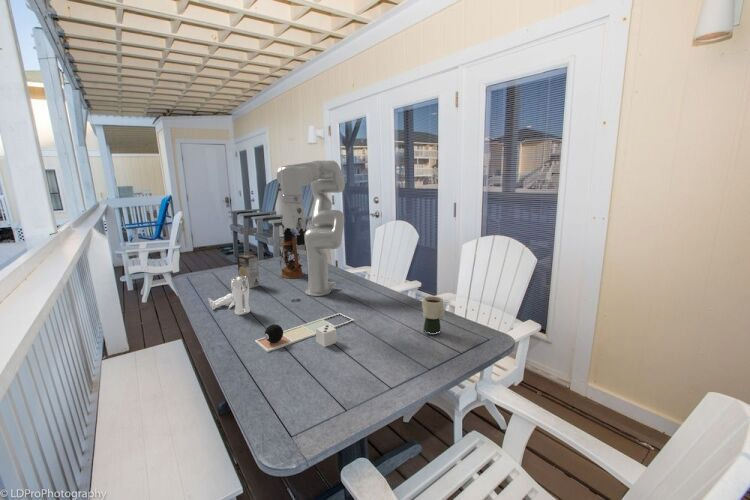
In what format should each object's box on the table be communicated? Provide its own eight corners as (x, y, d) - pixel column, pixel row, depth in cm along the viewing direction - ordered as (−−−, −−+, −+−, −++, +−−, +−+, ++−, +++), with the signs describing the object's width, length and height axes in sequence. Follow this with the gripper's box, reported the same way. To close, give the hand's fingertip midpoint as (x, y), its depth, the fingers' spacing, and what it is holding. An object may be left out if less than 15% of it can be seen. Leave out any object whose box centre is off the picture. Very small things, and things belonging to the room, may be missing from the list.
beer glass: (245, 316, 142) (242, 281, 138) (230, 314, 143) (226, 280, 140) (254, 309, 148) (251, 276, 145) (239, 308, 150) (236, 275, 147)
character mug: (449, 335, 125) (451, 301, 122) (436, 341, 121) (437, 306, 118) (428, 325, 134) (429, 293, 131) (414, 330, 129) (415, 297, 127)
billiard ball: (261, 342, 119) (260, 326, 118) (276, 335, 124) (275, 320, 122) (272, 347, 116) (271, 330, 114) (287, 340, 120) (286, 324, 119)
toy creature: (206, 295, 154) (233, 284, 159) (210, 306, 156) (237, 296, 162) (210, 303, 144) (239, 292, 150) (215, 315, 146) (243, 304, 152)
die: (328, 337, 123) (327, 324, 122) (336, 342, 120) (336, 328, 119) (316, 342, 120) (315, 328, 119) (324, 347, 116) (324, 333, 115)
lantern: (309, 276, 197) (306, 224, 190) (287, 280, 189) (284, 226, 182) (296, 270, 210) (293, 221, 203) (275, 273, 202) (272, 222, 196)
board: (339, 314, 144) (339, 312, 144) (354, 321, 137) (354, 319, 137) (254, 342, 120) (254, 340, 120) (267, 352, 113) (267, 350, 113)
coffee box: (238, 285, 180) (236, 255, 177) (248, 282, 186) (246, 253, 182) (250, 288, 176) (247, 258, 172) (260, 285, 181) (258, 255, 178)
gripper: (312, 200, 129) (314, 245, 133) (289, 198, 142) (291, 238, 146) (294, 201, 124) (297, 247, 128) (272, 198, 137) (275, 241, 141)
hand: (294, 243), depth 137 cm, fingers open, 9 cm apart
